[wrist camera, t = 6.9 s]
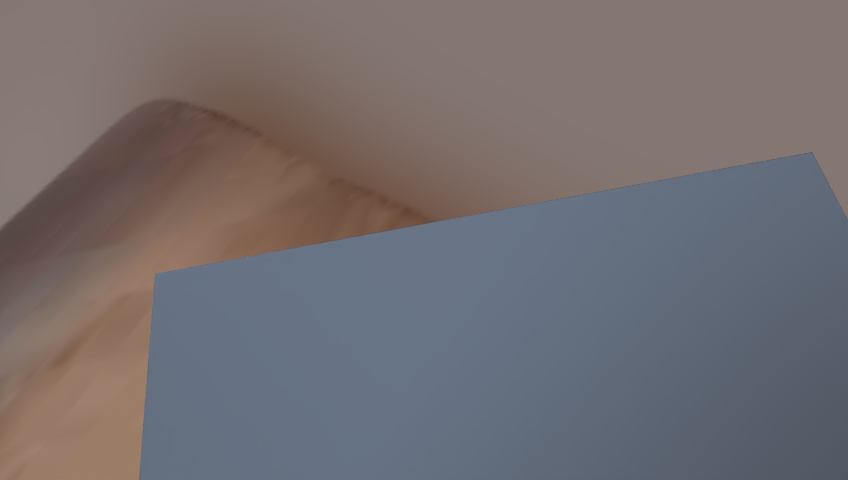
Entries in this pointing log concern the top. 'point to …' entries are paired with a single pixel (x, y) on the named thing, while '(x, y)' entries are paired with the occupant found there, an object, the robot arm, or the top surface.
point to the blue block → (523, 344)
